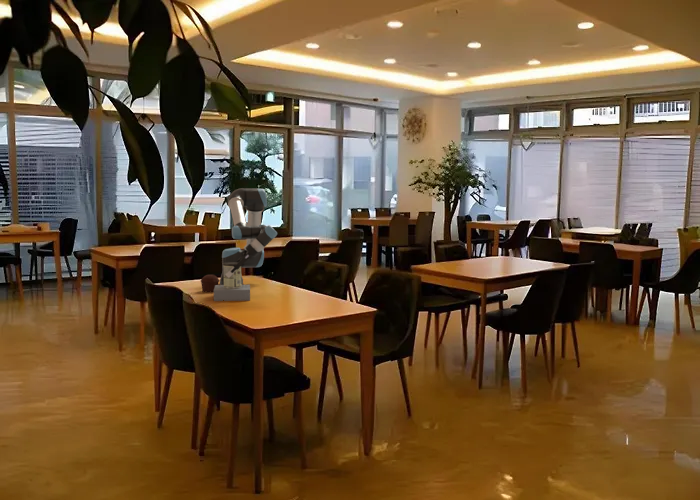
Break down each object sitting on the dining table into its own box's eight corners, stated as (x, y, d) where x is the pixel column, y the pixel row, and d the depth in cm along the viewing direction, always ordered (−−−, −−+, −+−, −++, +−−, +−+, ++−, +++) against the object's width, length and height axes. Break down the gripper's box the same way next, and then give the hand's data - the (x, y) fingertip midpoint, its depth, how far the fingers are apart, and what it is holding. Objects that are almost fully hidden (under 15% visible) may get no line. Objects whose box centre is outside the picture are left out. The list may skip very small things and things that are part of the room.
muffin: (214, 293, 397) (214, 276, 396) (197, 292, 400) (197, 275, 399) (222, 290, 409) (222, 274, 408) (205, 289, 411) (205, 273, 410)
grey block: (215, 295, 390) (215, 285, 390) (250, 294, 393) (250, 284, 393) (213, 300, 370) (213, 290, 370) (250, 300, 373) (250, 289, 373)
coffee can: (226, 285, 387) (226, 261, 386) (243, 286, 386) (243, 262, 385) (221, 288, 377) (220, 263, 375) (238, 288, 376) (238, 264, 374)
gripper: (259, 254, 370) (231, 282, 369) (259, 250, 393) (232, 276, 392) (249, 245, 369) (221, 273, 368) (249, 241, 392) (223, 267, 391)
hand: (227, 274), depth 380 cm, fingers open, 11 cm apart
